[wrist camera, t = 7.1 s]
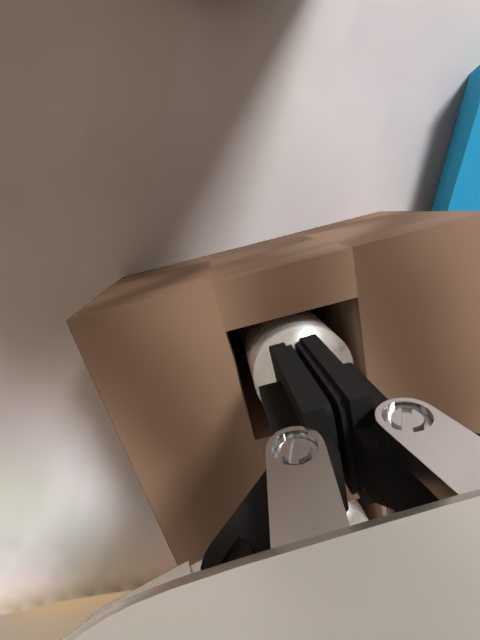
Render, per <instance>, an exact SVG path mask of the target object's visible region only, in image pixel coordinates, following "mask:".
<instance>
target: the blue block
mask: <svg viewBox="0 0 480 640" xmlns="http://www.w3.org/2000/svg"><path fill="white" fill-rule="evenodd" d="M431 211H480V65H479V66H478V67H477V68H476V69H475V70H474V71H473V72H471V73H470V74H469V78H468V81H467V85H466V88H465V92H464V95H463V99H462V102H461V106H460V109H459V113H458V117H457V120H456V124H455V127H454V131H453V134H452V138H451V141H450V145H449V148H448V152H447V155H446V159H445V162H444V166H443V170H442V173H441V177H440V180H439V184H438V187H437V191H436V194H435V198H434V201H433V205H432V208H431Z"/></svg>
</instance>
